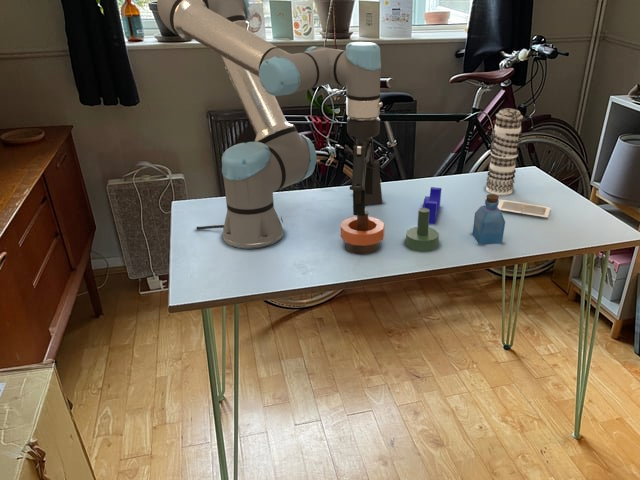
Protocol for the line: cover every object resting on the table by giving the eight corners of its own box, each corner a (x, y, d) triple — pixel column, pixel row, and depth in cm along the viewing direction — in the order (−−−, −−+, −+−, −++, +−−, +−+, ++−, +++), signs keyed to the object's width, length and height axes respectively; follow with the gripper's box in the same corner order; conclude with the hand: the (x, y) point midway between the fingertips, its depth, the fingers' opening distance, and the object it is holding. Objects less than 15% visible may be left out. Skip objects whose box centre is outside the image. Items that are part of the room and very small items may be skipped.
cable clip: (424, 205, 172) (426, 186, 169) (439, 207, 172) (441, 188, 169) (418, 222, 162) (419, 202, 159) (434, 223, 162) (436, 203, 159)
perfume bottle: (502, 243, 152) (508, 200, 146) (479, 244, 152) (484, 201, 145) (494, 233, 158) (500, 191, 151) (472, 234, 157) (477, 192, 151)
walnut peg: (343, 252, 146) (342, 217, 141) (349, 237, 153) (348, 204, 148) (376, 255, 145) (377, 220, 140) (380, 240, 152) (381, 206, 147)
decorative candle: (516, 187, 187) (529, 108, 174) (510, 197, 180) (522, 116, 167) (489, 182, 190) (499, 104, 177) (481, 192, 183) (491, 111, 170)
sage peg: (404, 250, 148) (406, 215, 143) (407, 235, 155) (408, 202, 150) (437, 252, 147) (440, 218, 142) (438, 238, 154) (441, 204, 149)
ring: (337, 243, 143) (337, 232, 142) (345, 225, 152) (345, 214, 151) (380, 247, 142) (381, 236, 141) (386, 228, 152) (386, 217, 150)
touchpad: (499, 202, 176) (500, 195, 175) (550, 210, 172) (551, 203, 171) (494, 212, 170) (495, 205, 168) (547, 220, 165) (548, 213, 164)
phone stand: (354, 194, 178) (354, 156, 172) (372, 192, 180) (373, 155, 174) (363, 205, 171) (363, 166, 165) (382, 203, 173) (383, 164, 167)
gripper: (372, 132, 121) (371, 226, 132) (386, 104, 142) (384, 186, 153) (336, 131, 122) (339, 223, 132) (355, 102, 143) (356, 184, 154)
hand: (363, 204), depth 143 cm, fingers open, 13 cm apart
